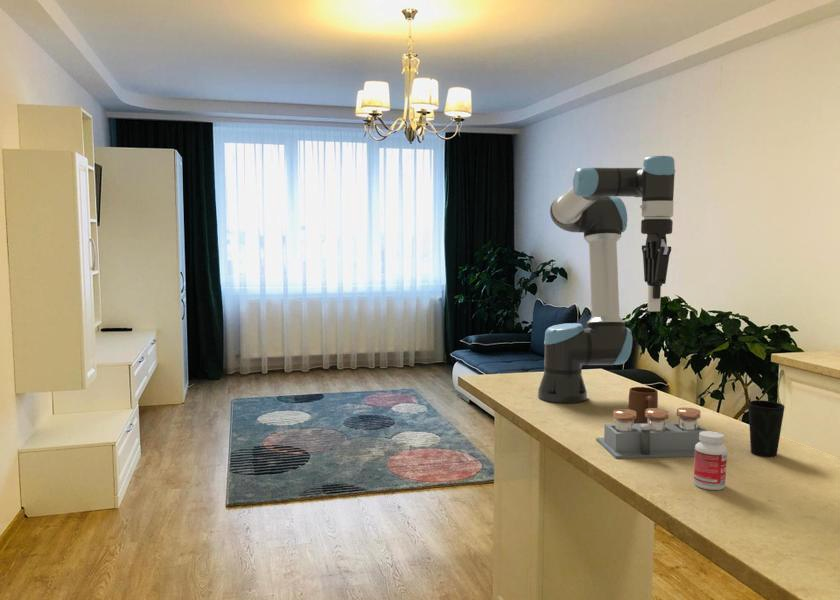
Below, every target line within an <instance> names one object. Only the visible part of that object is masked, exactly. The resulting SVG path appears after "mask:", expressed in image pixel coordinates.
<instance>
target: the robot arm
mask: <svg viewBox="0 0 840 600" xmlns="http://www.w3.org/2000/svg"><path fill="white" fill-rule="evenodd" d="M675 164H676V163H675V158H674V157H673V156H670V155H653V156H652V155H651V156H646V157H644V159H643V162H642V167H592V166H587V167H581V168H577V169H575V171H574V175H573V178H572V186H571V187H570V189H568V191H567V192H566V193H561V194H560V195H558V196H557V197H556V198H555V199H554V200H553V201H552V202H551V205H550V208H549V214H550V218H551V220H552V222H553V223H554V225H556V226H557V227H558V228H560V229H561V230H563V231H566V232H570V233H583V240H585V241H586V243H588V245H589V246H588V247H589V253H588V254H589V273H590V274H589V276H590V277H589V279H590V306H591V311H590V312H591V317H590V319H589V320H588V321H587V322H586V327H585V328H584V326H583V324H582V323H577V322H573V323H570V322H569V323H568V322H567V323H561V324H560V323H559V324H555V325H552V326H549V327H548V328H547V329H546V330H545V332H544V341H543V344H544V351H543V353H544V358H543V360H544V361H543V365H544V366H543V375H542V379H541V381H540V384H539V387H538V390H537V394H538V395H537V397H538V398H539V399H540V400H542V401H546V402H549V403H550V402H551V403H557V404H558V403H559V404H576V403H577V404H578V403H581V402H585V401H587V399H588V397H587V395H588V394H587V393H588V392H587V388H586V384H585V381H584V379H583V373H582V368H583V366H613V365H616V366H617V365H623V364H625V363H626V362H627V361H628V360H629V358H630V356H631V353H632V349H633V335H632V331H631V329H630V328H628V327H626V323H625V321H624V319H623V318H621V316H620V299H619V298H620V297H619V294H620V293H619V272H618V269H619V268H618V247H617V245H618V244H617V243H618V242H619V240H620V239H621V238H622V233H624V232H625V231H626V230H627V227H628V212H627V211H628V210H627V207H626V205H625V202H624V201H623V200H622V198H620V197H628V198H629V197H634V198H641V205H640V207H639V208H640V209H641V217H642V218H644V219H642V220H641V223H640V224H641V225H640V233H641V234H642V235H647V236H646V240H645V245H641V251H642V260H643V274H644V275H643V280H644V282H645V283H647V286H648V290H647V310H646V311H647V312H661V293H662V286H663V285H665V284H666V281H667V275H668V274H667V273H668V267H669V261H670V254H671V251H672V246H669V245H668V240H667V235H671V234H673V219H672V217H673V216H674V205H675V204H674V203H675V202H674V197H675V196H674V191H675V174H676V167H675ZM667 245H668V246H667Z"/></svg>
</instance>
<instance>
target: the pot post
mask: <svg viewBox="0 0 840 600" xmlns="http://www.w3.org/2000/svg"><path fill="white" fill-rule="evenodd" d="M640 429H641V454H643V455H649V454H650V430H652V425H649V424H641V425H640Z"/></svg>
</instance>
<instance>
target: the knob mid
mask: <svg viewBox="0 0 840 600" xmlns="http://www.w3.org/2000/svg"><path fill="white" fill-rule="evenodd" d="M669 413H670V412H669V411H668V410H667V409H663V408H648V409H646V410H645V417H647V424H649V425H652V430H650V431H665V425H666V423H667V420H668V419H669Z"/></svg>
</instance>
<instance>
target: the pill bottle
mask: <svg viewBox="0 0 840 600" xmlns="http://www.w3.org/2000/svg"><path fill="white" fill-rule="evenodd" d="M724 437H725V436H724V434H722V432H721V433H720V432H717V431H710V430H708V431H702V432H700V433H699V440H700V442H698V443H697V444H696V445H695V457H694V460H693V461H694V463H693V484H694V485H695V486H696V487H698V488H700V489H704V490H709V491H720V490H723V489H724V488H725V486H726V479H727V474H726V473H727V457H728V456H727V454H728V452H727V447H726V446H725V445H724V444H723V443H724Z"/></svg>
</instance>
